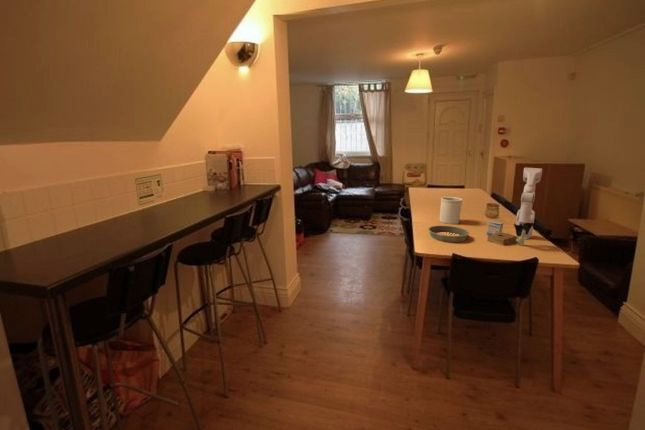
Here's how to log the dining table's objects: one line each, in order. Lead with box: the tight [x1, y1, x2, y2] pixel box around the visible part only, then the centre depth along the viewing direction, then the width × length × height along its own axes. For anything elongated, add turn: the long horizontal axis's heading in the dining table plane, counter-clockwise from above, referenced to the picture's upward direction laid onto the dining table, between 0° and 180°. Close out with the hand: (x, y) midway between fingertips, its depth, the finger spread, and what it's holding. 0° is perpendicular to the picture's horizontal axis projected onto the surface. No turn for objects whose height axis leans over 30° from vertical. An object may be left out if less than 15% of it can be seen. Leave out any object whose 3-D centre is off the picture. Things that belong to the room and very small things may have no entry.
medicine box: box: [486, 220, 504, 236], centre depth 226 cm, size 8×4×9 cm, turn 45°
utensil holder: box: [439, 196, 464, 225], centre depth 257 cm, size 15×15×18 cm
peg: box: [517, 230, 526, 247], centre depth 207 cm, size 3×3×9 cm
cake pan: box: [427, 225, 470, 243], centre depth 222 cm, size 25×25×4 cm
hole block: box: [487, 231, 518, 246], centre depth 215 cm, size 14×10×4 cm
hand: (522, 235), depth 207 cm, fingers open, 7 cm apart
